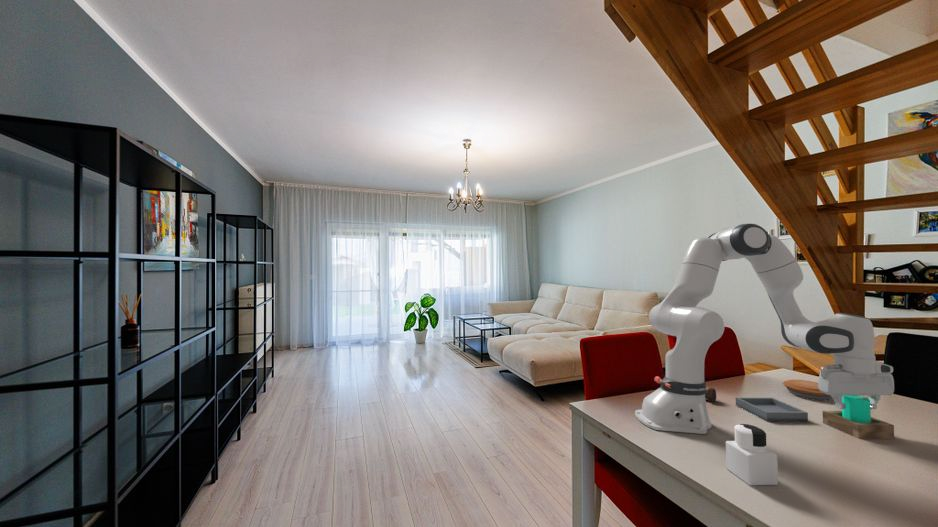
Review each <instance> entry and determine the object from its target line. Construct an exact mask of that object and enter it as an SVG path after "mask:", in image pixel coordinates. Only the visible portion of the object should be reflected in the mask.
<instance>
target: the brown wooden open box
mask: <svg viewBox="0 0 938 527" xmlns="http://www.w3.org/2000/svg"><path fill="white" fill-rule="evenodd" d="M822 423H823V424H825V425H827V426H829V427H832V428H834V429H835V430H839V431H840V432H843V433H845V434H847V435H850V436H851V437H852V436H853V437H854V438H857V439H882V440H883V439H884V440H886V439H895V425H894V424H893V423H889V422H886V421H883V420H880V419H878V418H876V417H872V416H871V423H857V422H854V421H852V420H849V419H847V418H844V417H842V410H822Z"/></svg>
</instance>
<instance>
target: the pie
mask: <svg viewBox="0 0 938 527" xmlns="http://www.w3.org/2000/svg"><path fill="white" fill-rule="evenodd" d="M782 384H783V386H784V387H785V388H786V389H787V391H788V392H789V393H790V394H791V393H792V395H793V394H794V395H793V396H796V395H797V396H796V397H799V396H800V397H799V398H802V397H804V399H807V398H808V400H812V399H814V400H813V401H828V400H830V399H831V398H832V397H831V395H828V394H825V393H822V392H821V391H820V390H819V389H818V382H816V381H811V380H805V379H804V380H803V379H789V380H785V381H783V382H782Z"/></svg>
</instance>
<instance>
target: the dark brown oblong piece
mask: <svg viewBox="0 0 938 527" xmlns="http://www.w3.org/2000/svg"><path fill="white" fill-rule="evenodd" d="M705 400H707V401H708V403H711V402H712V404H713V402H714V403H715V402H716V401H717V391H716V388H714V387H709V388H708V389H706V397H705Z"/></svg>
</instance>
